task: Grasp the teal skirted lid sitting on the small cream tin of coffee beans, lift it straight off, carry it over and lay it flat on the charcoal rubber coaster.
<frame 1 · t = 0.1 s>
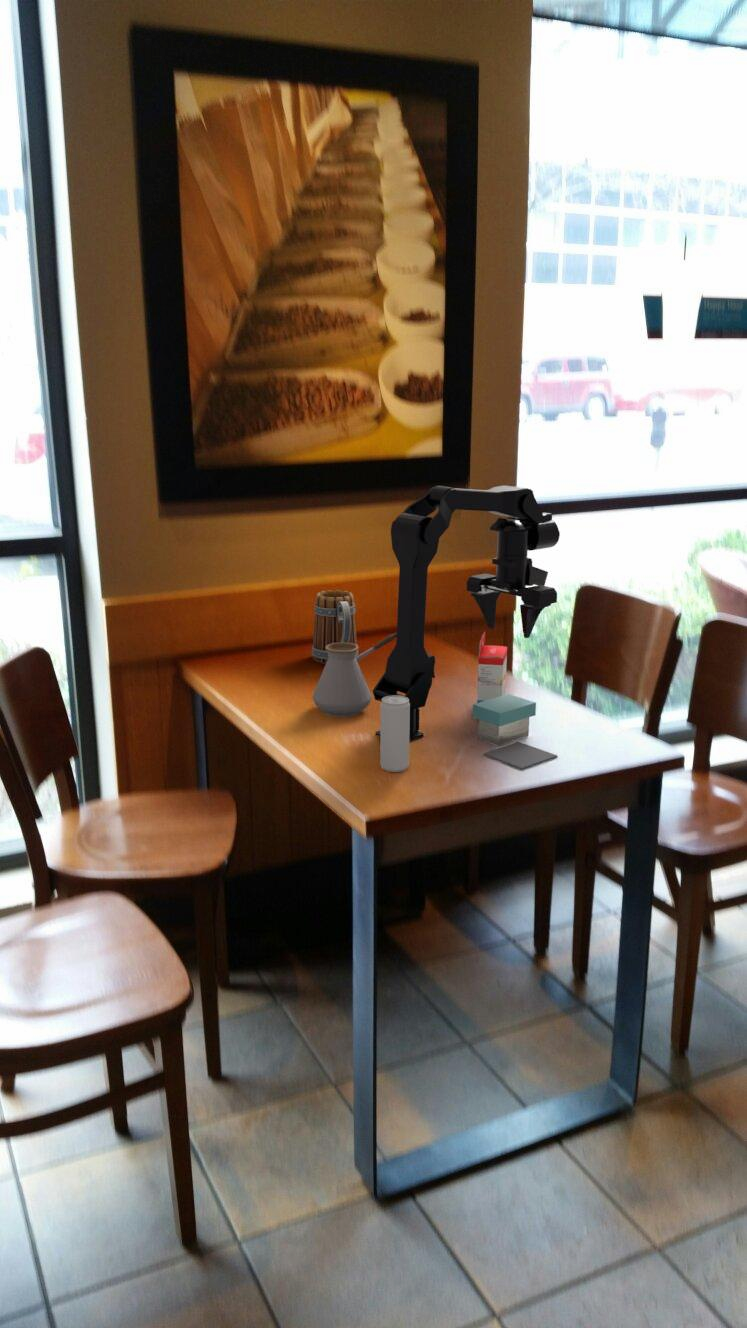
hand: (508, 633, 210), 15 cm above the table, fingers open, 9 cm apart
mug: (338, 662, 243), on the table
lid: (504, 710, 194), point 5 cm above the table, touching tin
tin: (503, 737, 196), on the table
coaster: (519, 756, 186), on the table
beverage can: (394, 768, 181), on the table
ink box: (490, 710, 211), on the table
coffee pot: (364, 707, 212), on the table
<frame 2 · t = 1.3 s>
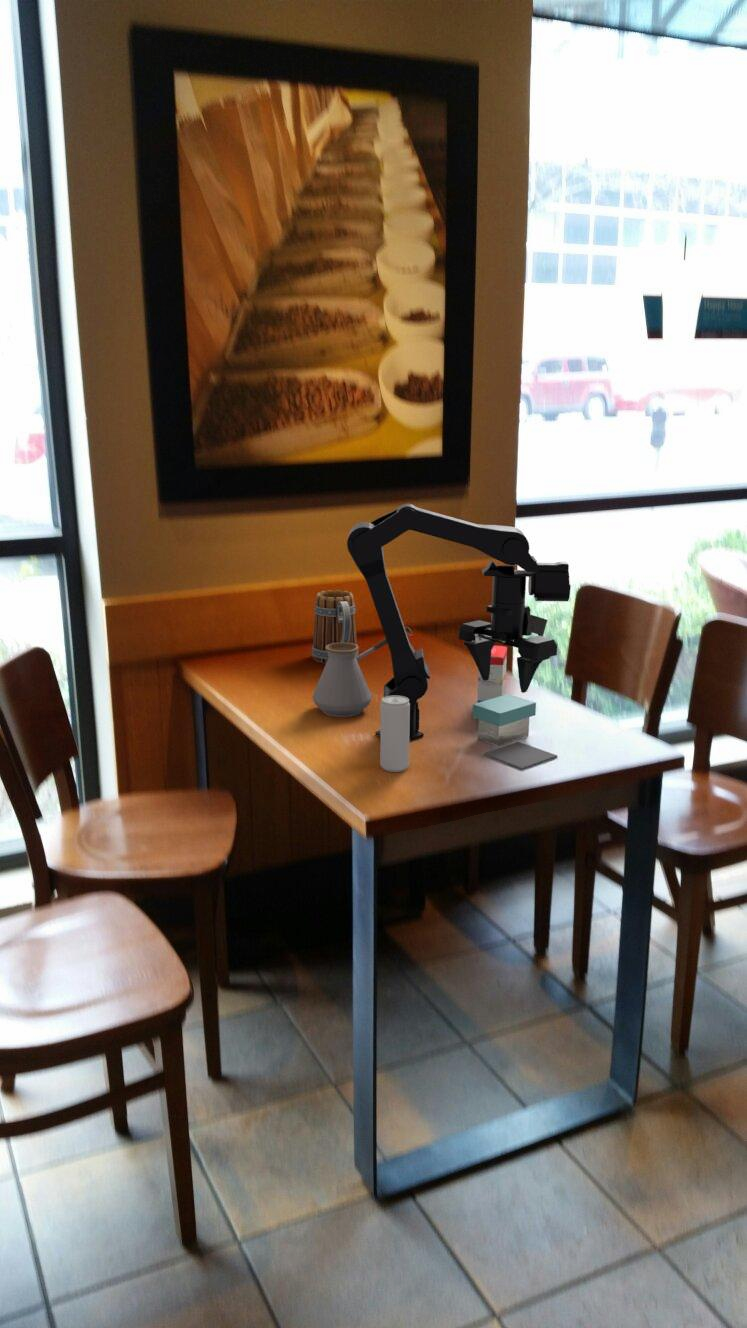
hand: (504, 686, 193), 10 cm above the table, fingers open, 9 cm apart
nothing on the table moved.
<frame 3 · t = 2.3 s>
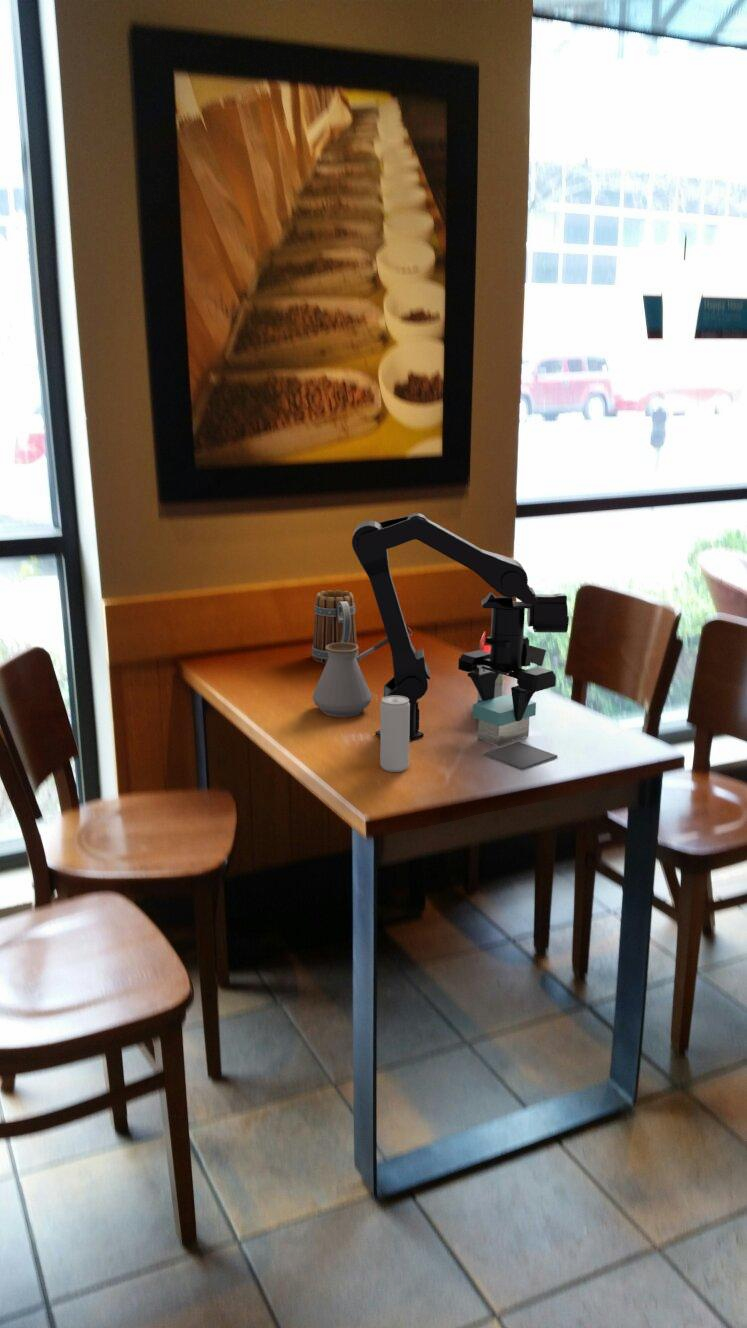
hand: (504, 715, 195), 4 cm above the table, fingers closed on lid, 7 cm apart
lid: (504, 710, 194), point 5 cm above the table, touching gripper, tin
everything else where it was.
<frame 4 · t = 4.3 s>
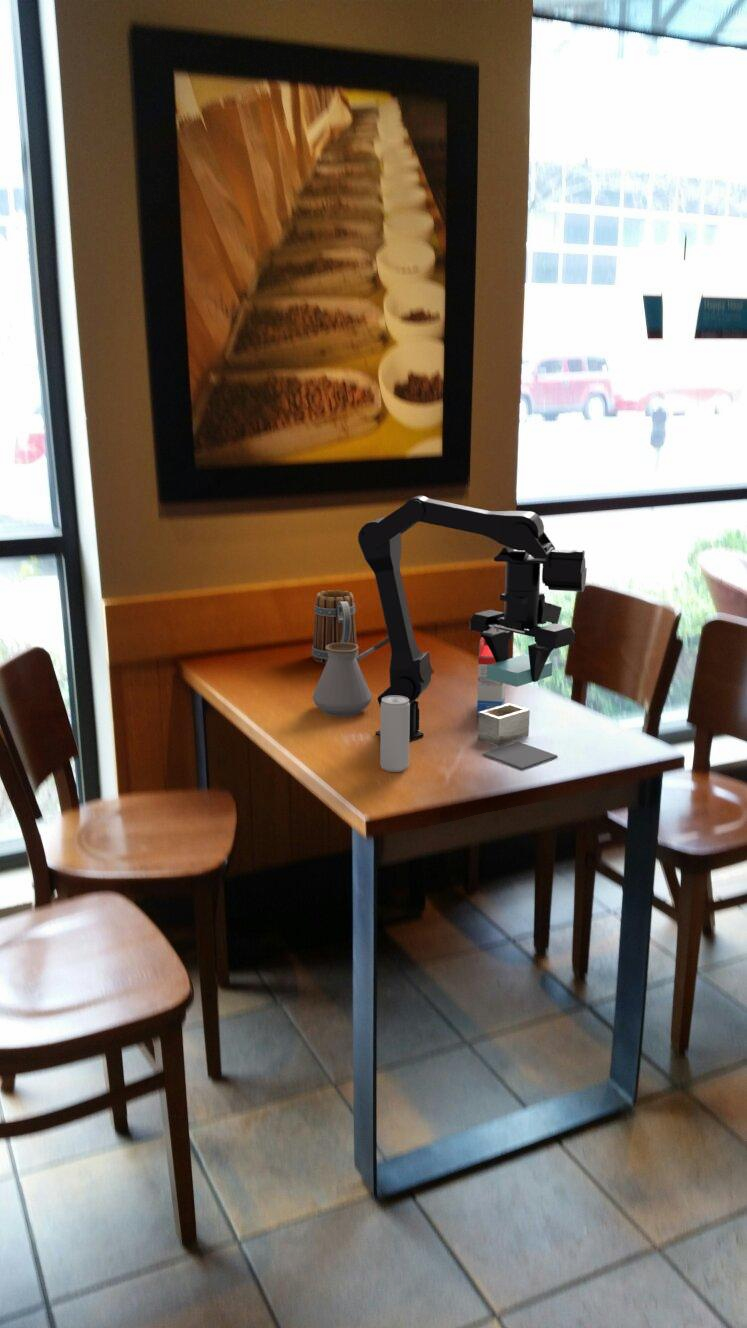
hand: (519, 677, 186), 13 cm above the table, fingers closed on lid, 7 cm apart
lid: (519, 671, 186), point 14 cm above the table, touching gripper
everything else where it was.
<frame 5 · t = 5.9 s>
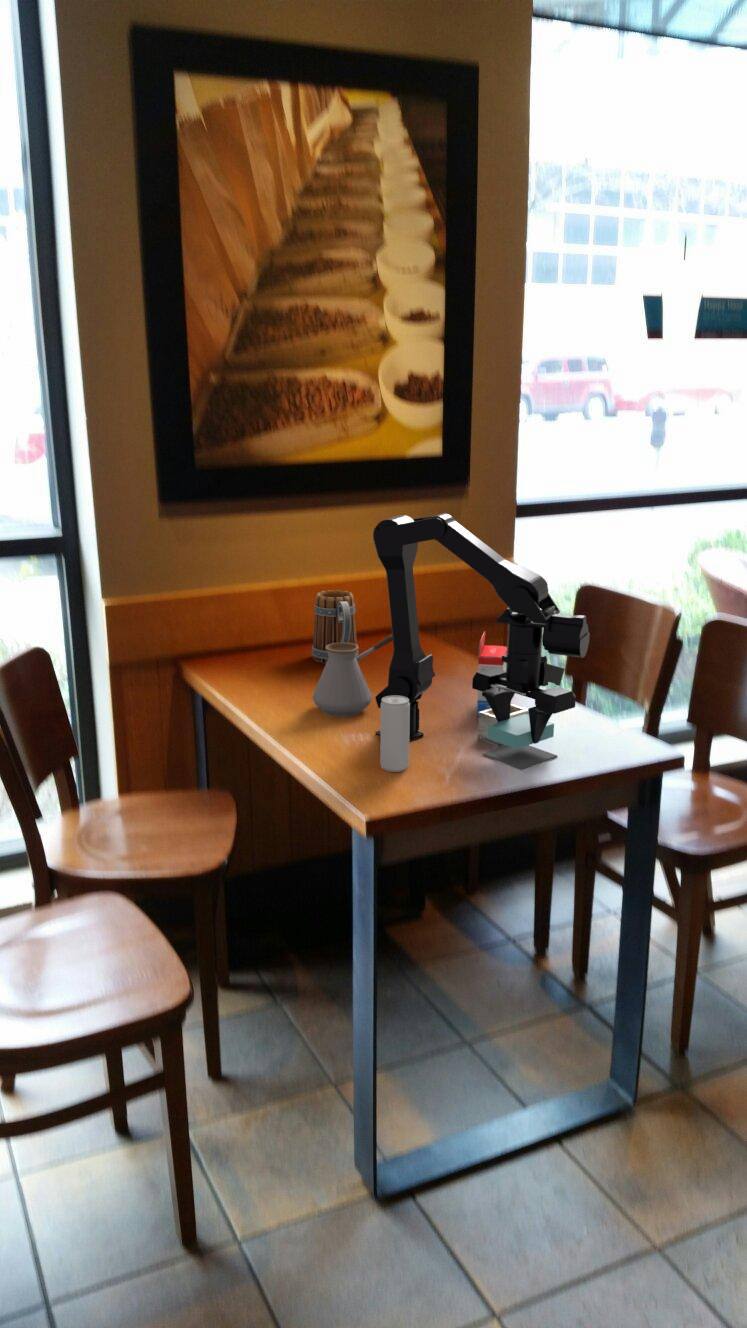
hand: (520, 737, 186), 3 cm above the table, fingers closed on lid, 7 cm apart
lid: (520, 732, 185), point 4 cm above the table, touching gripper
everything else where it was.
when the fingers open (2 cm above the table, at t = 6.7 s): lid drops 1 cm, resting on coaster.
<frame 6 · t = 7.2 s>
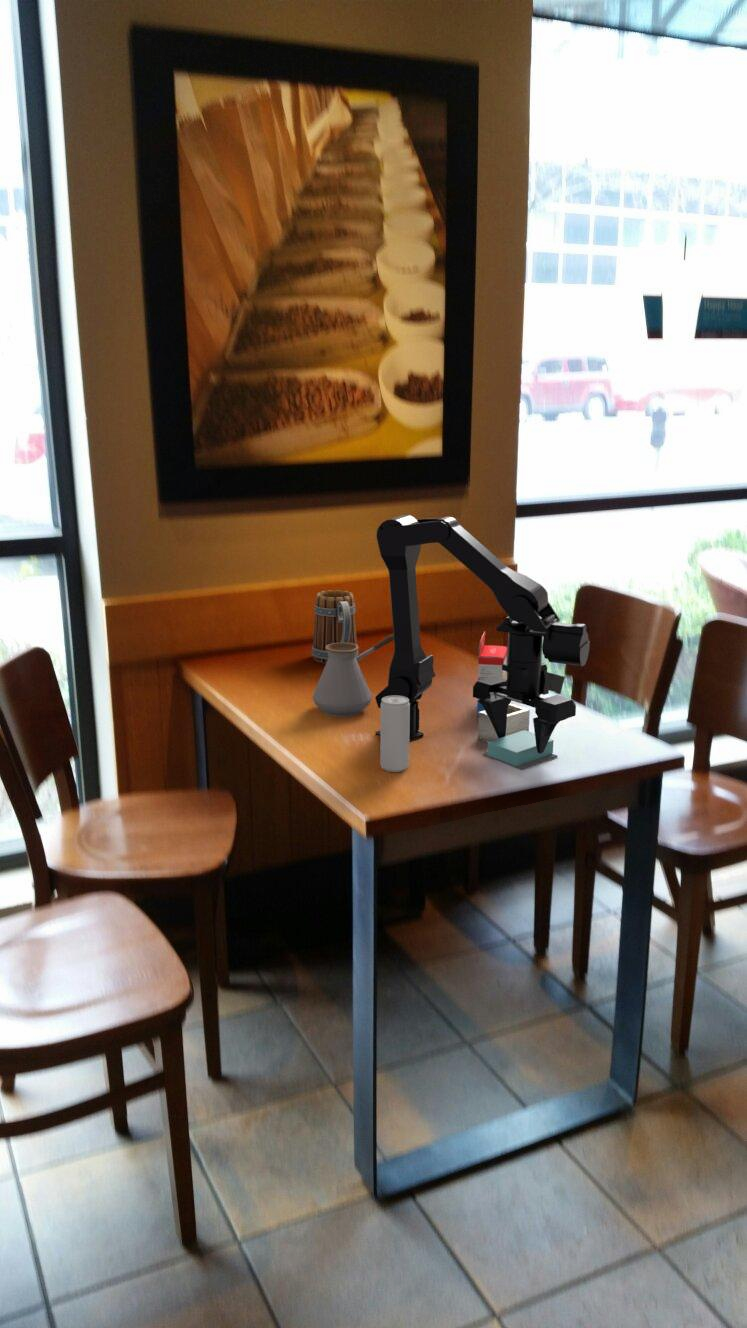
hand: (520, 746, 186), 2 cm above the table, fingers open, 8 cm apart
lid: (520, 748, 186), point 1 cm above the table, touching coaster
everything else where it was.
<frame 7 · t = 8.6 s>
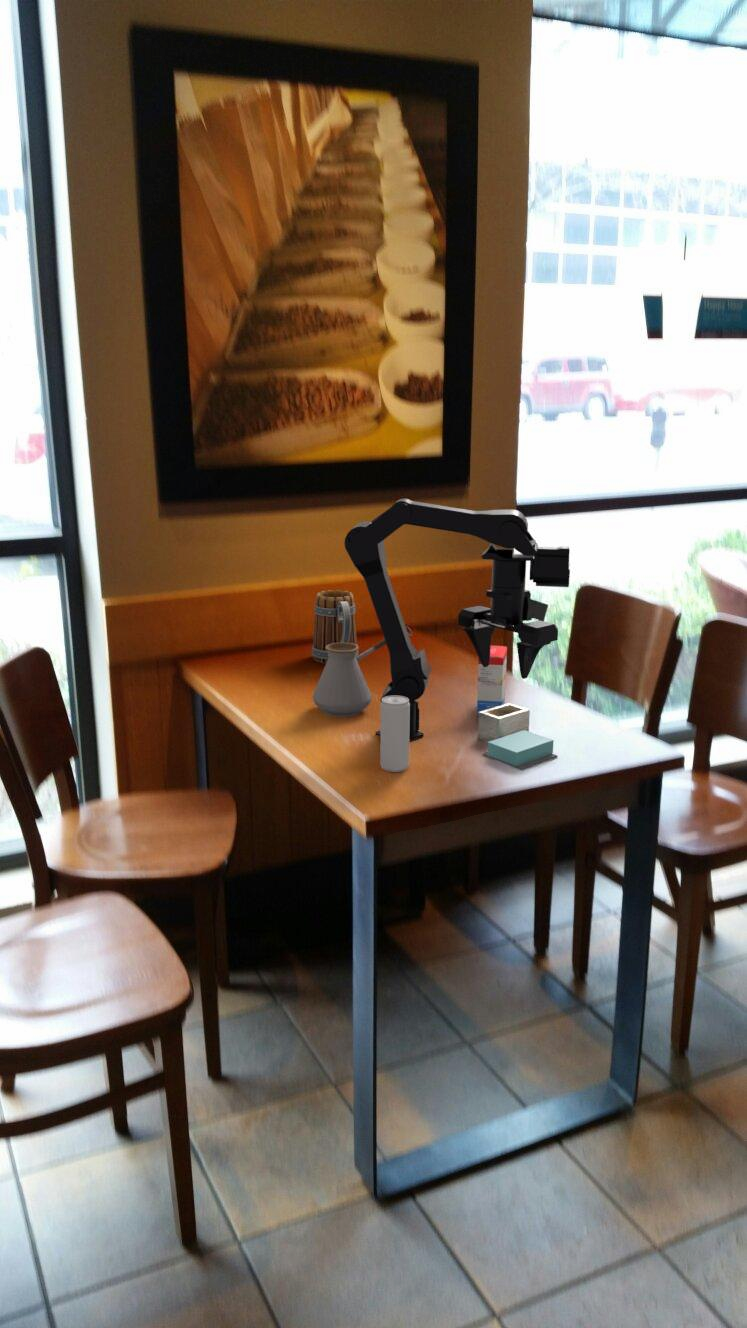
hand: (504, 672, 190), 13 cm above the table, fingers open, 9 cm apart
nothing on the table moved.
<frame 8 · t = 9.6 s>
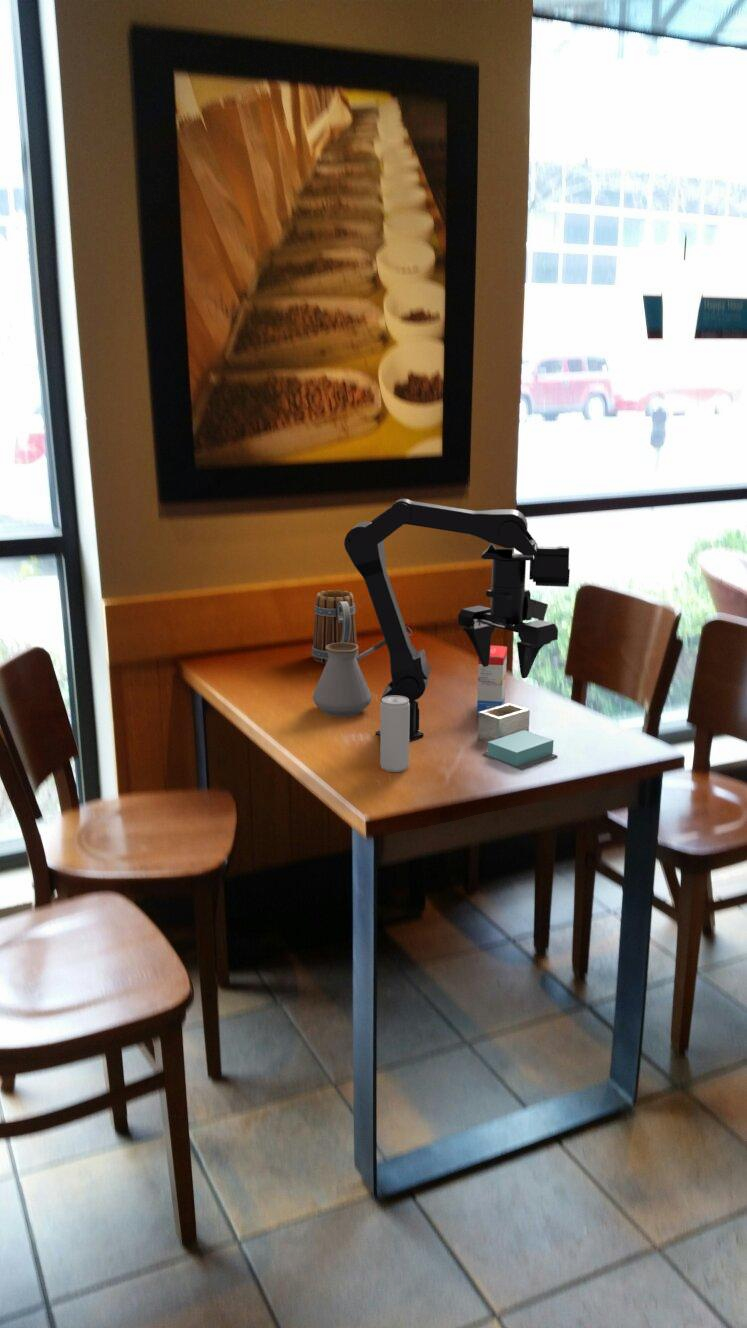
hand: (504, 672, 190), 13 cm above the table, fingers open, 9 cm apart
nothing on the table moved.
at the end: lid inside the target area on the coaster (0.1 cm from its centre), point 1.4 cm above the coaster's base; lid tilted 0°; the gripper is holding nothing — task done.
